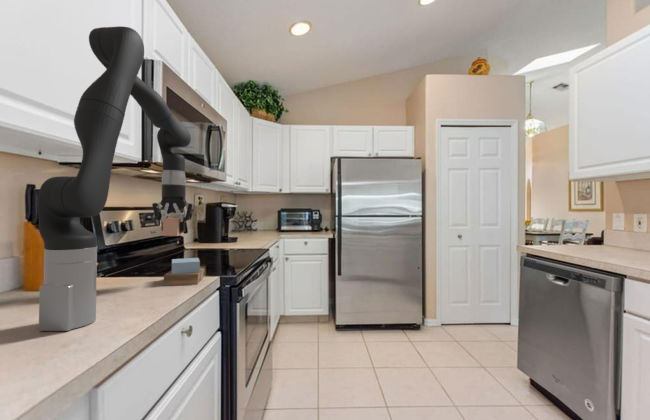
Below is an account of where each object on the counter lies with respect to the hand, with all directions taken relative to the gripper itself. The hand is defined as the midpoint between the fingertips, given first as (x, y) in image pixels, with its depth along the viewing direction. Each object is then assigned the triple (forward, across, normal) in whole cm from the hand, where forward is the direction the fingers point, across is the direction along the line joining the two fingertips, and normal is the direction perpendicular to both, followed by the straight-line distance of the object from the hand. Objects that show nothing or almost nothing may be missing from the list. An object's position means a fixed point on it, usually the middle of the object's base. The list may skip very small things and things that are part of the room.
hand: (173, 232), depth 108 cm
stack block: (+1, 0, 0) cm, 1 cm away
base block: (+19, +3, +3) cm, 19 cm away
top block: (+15, +3, +4) cm, 15 cm away
